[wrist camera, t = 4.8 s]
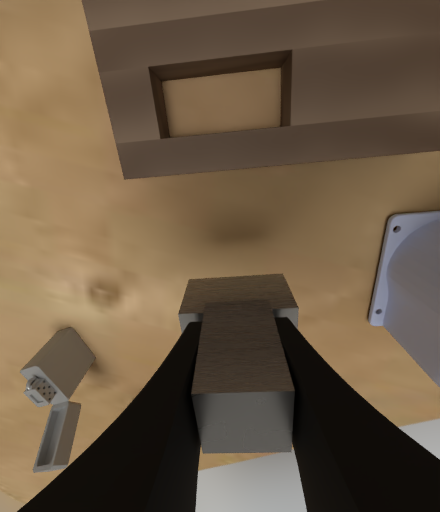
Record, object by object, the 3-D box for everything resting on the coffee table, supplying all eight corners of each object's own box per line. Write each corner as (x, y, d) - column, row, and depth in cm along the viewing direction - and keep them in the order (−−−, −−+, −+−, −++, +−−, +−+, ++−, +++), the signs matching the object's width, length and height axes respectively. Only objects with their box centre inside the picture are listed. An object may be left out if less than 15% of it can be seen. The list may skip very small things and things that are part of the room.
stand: (415, 150, 15) (449, 149, 13) (139, 175, 16) (124, 179, 14) (482, -152, 10) (556, -242, 8) (83, -87, 11) (46, -149, 9)
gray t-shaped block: (282, 306, 13) (333, 451, 7) (194, 311, 14) (163, 453, 7) (283, 265, 12) (344, 389, 6) (187, 271, 12) (145, 395, 6)
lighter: (56, 331, 22) (-31, 422, 14) (71, 326, 21) (-9, 416, 14) (98, 382, 24) (42, 481, 17) (112, 378, 24) (62, 477, 17)
